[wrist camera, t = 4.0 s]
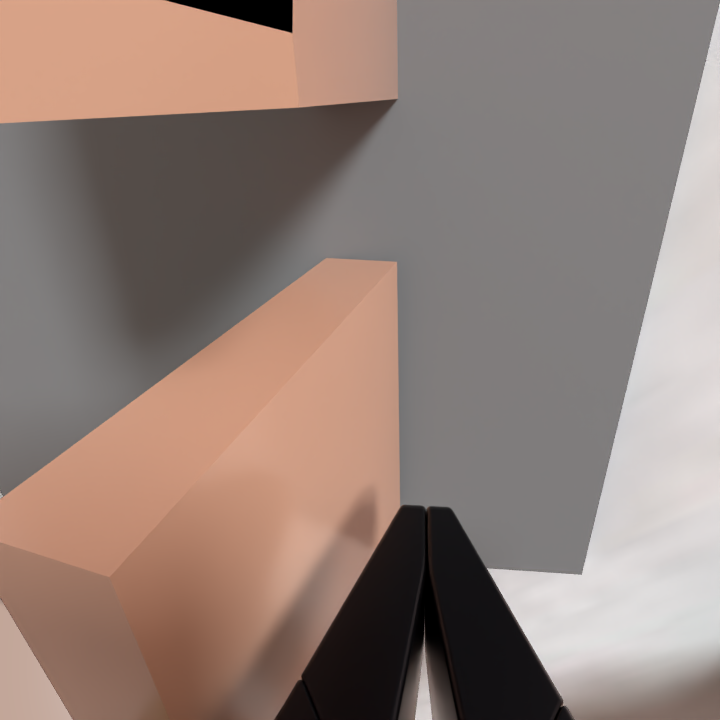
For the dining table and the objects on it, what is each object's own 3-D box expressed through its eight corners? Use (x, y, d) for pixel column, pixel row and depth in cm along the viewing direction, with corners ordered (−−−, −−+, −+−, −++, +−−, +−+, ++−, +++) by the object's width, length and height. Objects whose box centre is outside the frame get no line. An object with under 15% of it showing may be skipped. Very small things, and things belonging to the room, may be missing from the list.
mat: (577, 562, 15) (581, 574, 14) (32, 527, 17) (24, 536, 17) (975, -1146, 4) (1023, -1254, 4) (-552, -642, 7) (-605, -681, 6)
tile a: (400, 509, 14) (251, 913, 7) (340, 497, 14) (151, 860, 7) (396, 261, 10) (108, 577, 4) (319, 257, 11) (-52, 525, 4)
